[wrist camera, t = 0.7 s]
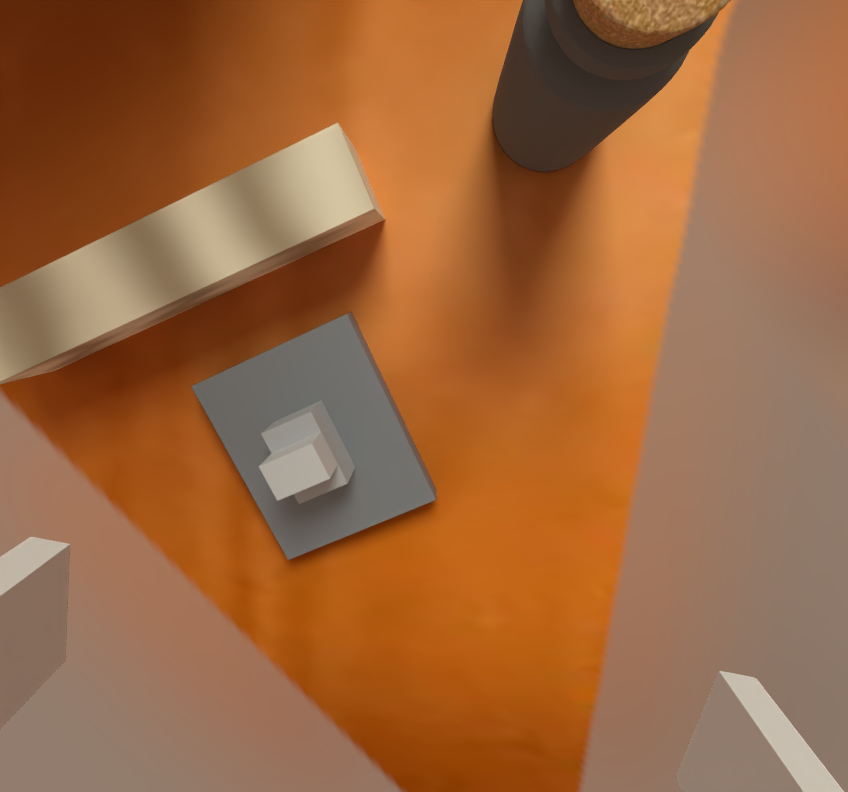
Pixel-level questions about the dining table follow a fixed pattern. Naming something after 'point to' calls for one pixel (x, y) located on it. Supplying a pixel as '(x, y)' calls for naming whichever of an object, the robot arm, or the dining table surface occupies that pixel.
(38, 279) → the beam
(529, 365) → the dining table surface
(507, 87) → the bottle
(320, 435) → the fulcrum
